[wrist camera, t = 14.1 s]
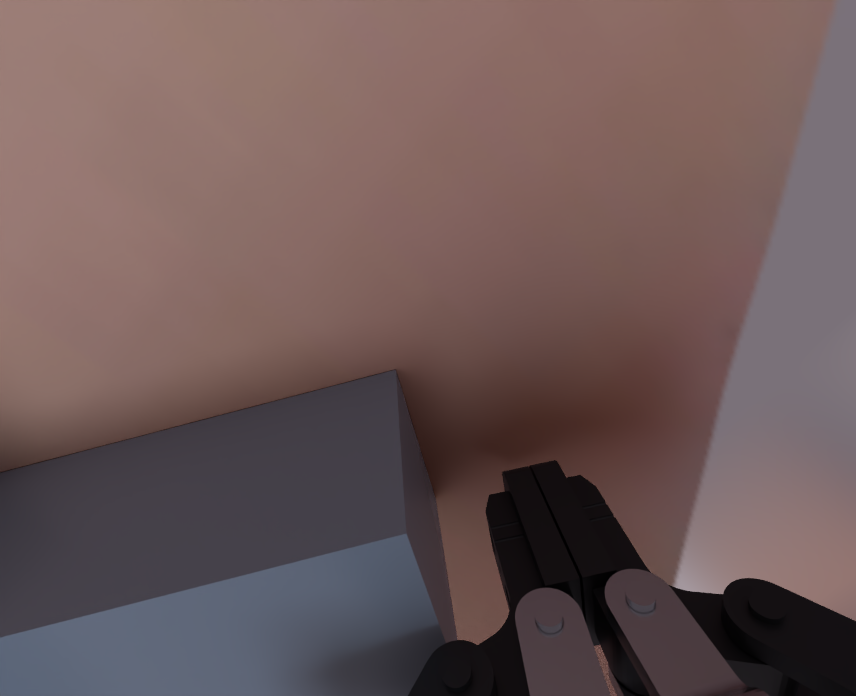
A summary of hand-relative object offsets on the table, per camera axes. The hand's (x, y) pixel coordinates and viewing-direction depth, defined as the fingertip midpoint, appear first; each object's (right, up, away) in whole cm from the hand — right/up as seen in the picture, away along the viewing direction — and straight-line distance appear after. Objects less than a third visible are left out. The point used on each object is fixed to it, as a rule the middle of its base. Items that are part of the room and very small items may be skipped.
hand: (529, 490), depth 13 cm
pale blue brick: (-9, 0, +1) cm, 9 cm away
